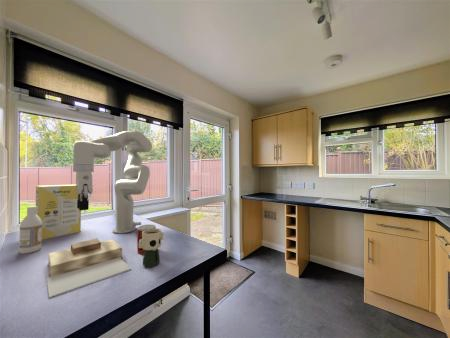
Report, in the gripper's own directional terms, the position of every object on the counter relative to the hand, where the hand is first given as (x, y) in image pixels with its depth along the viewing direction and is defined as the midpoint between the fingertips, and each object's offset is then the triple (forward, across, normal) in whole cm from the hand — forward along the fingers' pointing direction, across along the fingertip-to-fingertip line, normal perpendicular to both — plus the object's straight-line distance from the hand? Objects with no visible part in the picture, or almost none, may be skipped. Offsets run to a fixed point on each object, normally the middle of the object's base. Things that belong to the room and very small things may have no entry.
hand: (82, 208), depth 84 cm
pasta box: (+20, +40, +5) cm, 45 cm away
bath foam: (+20, +18, +16) cm, 31 cm away
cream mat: (+19, -25, +1) cm, 32 cm away
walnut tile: (+15, -9, 0) cm, 18 cm away
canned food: (+20, -19, -21) cm, 34 cm away
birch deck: (+19, -11, 0) cm, 22 cm away
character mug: (+20, -33, -17) cm, 42 cm away
